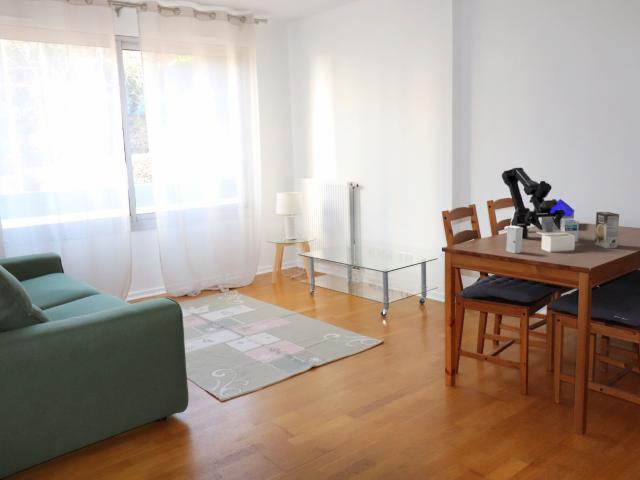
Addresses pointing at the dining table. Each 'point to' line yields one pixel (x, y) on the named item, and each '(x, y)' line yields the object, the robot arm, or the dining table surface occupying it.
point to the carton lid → (551, 230)
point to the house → (568, 215)
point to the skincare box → (514, 239)
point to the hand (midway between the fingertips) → (550, 229)
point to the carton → (558, 243)
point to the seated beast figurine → (511, 220)
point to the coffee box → (606, 229)
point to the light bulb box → (570, 227)
